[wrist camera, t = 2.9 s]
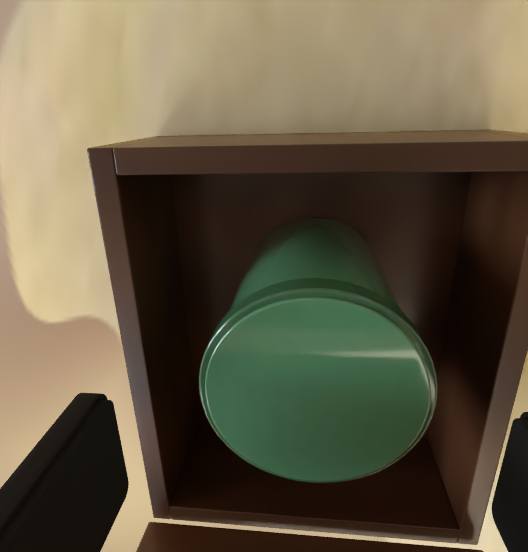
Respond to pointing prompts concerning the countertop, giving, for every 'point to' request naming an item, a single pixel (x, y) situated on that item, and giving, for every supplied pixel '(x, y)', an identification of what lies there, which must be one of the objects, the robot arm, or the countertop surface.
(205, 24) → the countertop surface
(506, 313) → the bin
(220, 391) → the pot
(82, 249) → the countertop surface
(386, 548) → the bin lid
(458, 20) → the countertop surface
